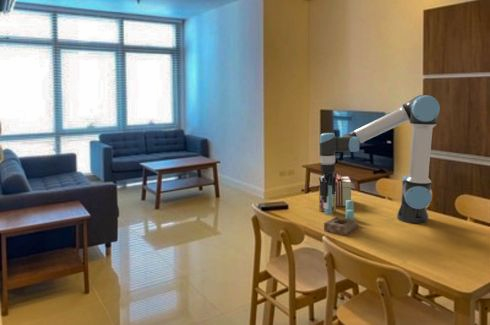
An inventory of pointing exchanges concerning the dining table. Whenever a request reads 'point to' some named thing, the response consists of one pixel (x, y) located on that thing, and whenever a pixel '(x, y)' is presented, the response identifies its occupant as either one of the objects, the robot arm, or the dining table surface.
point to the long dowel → (329, 211)
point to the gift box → (342, 190)
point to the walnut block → (341, 226)
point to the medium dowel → (349, 204)
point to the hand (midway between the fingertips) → (328, 207)
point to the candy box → (322, 202)
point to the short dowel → (350, 214)
